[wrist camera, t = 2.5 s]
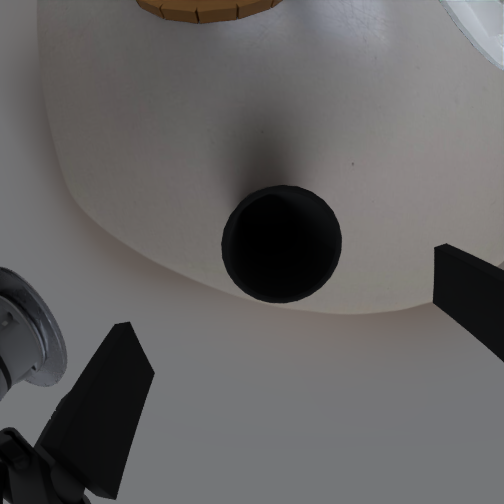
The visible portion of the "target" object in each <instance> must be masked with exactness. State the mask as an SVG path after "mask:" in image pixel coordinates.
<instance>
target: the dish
mask: <svg viewBox="0 0 504 504" xmlns="http://www.w3.org/2000/svg"><path fill="white" fill-rule="evenodd" d="M439 1H440V3H441V4H442V5H443V7H444V8H445V9H446V11H447V12H448V14H449V15H450V17H451V18H452V20H453V21H454V22H455V24H456V25H457V27H458V28H459V29H460V30H461V31H462V32H463V34H464V35H465V36H466V37H467V38H468V40H469V41H470V42H471V43H472V45H473V46H474V47H475V48H476V49H477V50H478V51H479V52H480V53H481V54H482V55H483V56H484V57H486V58H487V59H488V60H489V61H490V62H491V63H492V64H494V65H495V66H497V67H498V68H500V69H502V70H503V71H504V0H439Z"/></svg>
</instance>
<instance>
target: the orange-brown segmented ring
mask: <svg viewBox="0 0 504 504" xmlns="http://www.w3.org/2000/svg"><path fill="white" fill-rule="evenodd" d="M136 1H137V3H138V4H139V6H140V7H141V8H142V9H145V10H147V11H149V12H151V13H153V14H155V15H157V16H159V17H161V18H163V19H164V18H165V19H166V20H174V21H183V22H190V23H197V24H198V22H199V20H200V24H202V23H210V22H219V21H230V20H236V16H237V18H238V19H241V18H244V17H247V16H250V15H253V14H256V13H259V12H262V11H265V10H269V9H270V7H271V8H273V7H274V6H276V5H277V4H278V3H280V2H281V1H282V0H136Z"/></svg>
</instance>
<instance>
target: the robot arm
mask: <svg viewBox="0 0 504 504" xmlns="http://www.w3.org/2000/svg"><path fill="white" fill-rule="evenodd" d="M433 303H434V304H435V305H436V306H438V307H439V308H440V309H441V310H443V311H444V312H445V313H447V314H448V315H449V316H450V317H452V318H453V319H454V320H455V321H457V322H458V323H459V324H460V325H461V326H463V327H464V328H465V329H466V330H467V331H469V332H470V333H471V334H472V335H473V336H474V337H476V338H477V339H478V340H479V341H480V342H482V343H483V344H484V345H485V346H486V347H487V348H488V349H490V350H491V351H492V352H493V353H494V354H495V355H497V357H499V358H500V359H501V360H502V361H503V362H504V270H502V269H500V268H498V267H496V266H494V265H492V264H490V263H488V262H486V261H484V260H482V259H479V258H477V257H475V256H473V255H471V254H469V253H467V252H464V251H462V250H460V249H458V248H456V247H453V246H451V245H449V244H447V243H446V244H443V245H440V246H437V247H434V291H433ZM44 361H45V350H44V345H43V342H42V339H41V337H40V334H39V332H38V330H37V328H36V326H35V325H34V323H33V321H32V320H31V318H30V317H29V315H28V314H27V313H26V311H25V310H24V309H23V308H22V307H21V306H20V305H19V304H18V303H17V302H16V301H15V300H14V299H12V298H11V297H10V296H8V295H6V294H4V293H0V401H1V399H2V398H3V397H4V396H5V394H6V393H7V392H8V390H9V389H10V388H11V387H12V386H13V385H14V384H16V383H18V382H20V381H22V380H24V379H27V378H29V377H31V376H33V375H34V374H35V373H37V372H38V371H39V370H40V368H41V367H42V366H43V364H44ZM154 374H155V373H154V371H153V369H152V367H151V365H150V363H149V361H148V359H147V357H146V355H145V353H144V351H143V349H142V347H141V345H140V343H139V340H138V338H137V336H136V334H135V332H134V330H133V328H132V325H131V323H130V322H125V323H119V324H115V325H114V326H113V327H112V329H111V330H110V332H109V333H108V335H107V336H106V338H105V339H104V340H103V342H102V343H101V345H100V346H99V348H98V349H97V351H96V352H95V354H94V355H93V357H92V358H91V360H90V361H89V363H88V364H87V366H86V368H85V369H84V371H83V372H82V374H81V375H80V377H79V378H78V380H77V382H76V383H75V385H74V386H73V388H72V390H71V391H70V392H69V393H68V394H66V396H64V397H63V398H62V399H61V401H60V403H59V404H58V406H57V407H56V411H54V413H53V414H52V416H51V419H49V421H48V423H47V424H46V426H45V428H44V429H43V431H42V433H41V435H40V437H39V439H38V440H37V442H36V444H35V446H34V447H32V446H31V445H30V444H29V443H28V442H27V441H26V440H25V439H24V438H23V436H22V435H21V434H20V433H19V432H18V431H17V430H16V429H15V428H11V427H8V428H4V429H3V430H1V431H0V504H3V498H4V499H5V500H6V501H8V502H9V503H10V504H91V503H90V501H89V499H88V498H87V496H86V495H84V494H83V493H84V490H85V487H86V488H87V489H88V490H90V491H91V492H92V493H93V494H95V495H96V496H99V497H103V498H108V499H114V500H116V498H117V494H118V490H119V486H120V483H121V479H122V476H123V472H124V468H125V465H126V461H127V457H128V455H129V451H130V448H131V444H132V441H133V438H134V435H135V431H136V428H137V425H138V422H139V419H140V416H141V413H142V410H143V407H144V403H145V400H146V397H147V394H148V392H149V388H150V385H151V383H152V380H153V377H154Z"/></svg>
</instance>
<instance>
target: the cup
mask: <svg viewBox="0 0 504 504" xmlns="http://www.w3.org/2000/svg"><path fill="white" fill-rule="evenodd" d="M221 246H222V259H223V261H224V264H225V267H226V270H227V272H228V274H229V276H230V277H231V279H232V280H233V282H234V283H235V284H236V285H237V286H238V287H239V288H240V289H241V290H242V291H244V292H245V293H246V294H248V295H250V296H252V297H254V298H255V299H258V300H261V301H265V302H269V303H289V302H294V301H298V300H301V299H303V298H305V297H308V296H310V295H311V294H313V293H314V292H316V291H317V290H318V289H320V288H321V287H322V286H323V285H324V284H325V283H326V282H327V281H328V279H329V278H330V277H331V276H332V274H333V272H334V270H335V268H336V267H337V265H338V261H339V258H340V254H341V247H342V235H341V231H340V226H339V222H338V220H337V218H336V216H335V214H334V212H333V210H332V209H331V208H330V207H329V206H328V205H327V203H326V202H325V201H324V200H323V199H321V198H320V197H319V196H317V195H316V194H314V193H313V192H311V191H308V190H306V189H303V188H300V187H298V186H288V185H279V186H272V187H267V188H264V189H261V190H258V191H256V192H253V193H251V194H250V195H248V196H247V197H246V198H245V199H244V200H243V201H242V202H241V203H240V204H239V205H238V206H237V207H236V209H235V210H234V211H233V212H232V214H231V215H230V217H229V219H228V221H227V223H226V226H225V228H224V231H223V237H222V242H221Z"/></svg>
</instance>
